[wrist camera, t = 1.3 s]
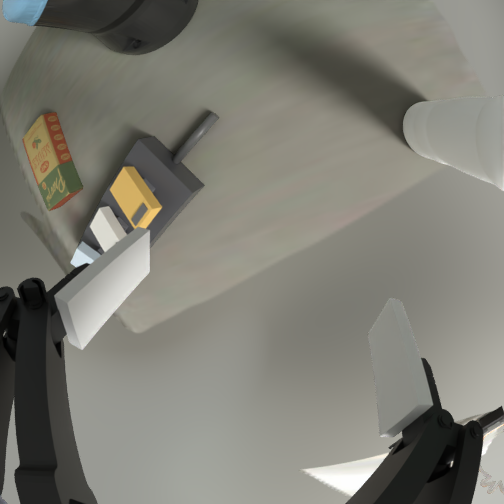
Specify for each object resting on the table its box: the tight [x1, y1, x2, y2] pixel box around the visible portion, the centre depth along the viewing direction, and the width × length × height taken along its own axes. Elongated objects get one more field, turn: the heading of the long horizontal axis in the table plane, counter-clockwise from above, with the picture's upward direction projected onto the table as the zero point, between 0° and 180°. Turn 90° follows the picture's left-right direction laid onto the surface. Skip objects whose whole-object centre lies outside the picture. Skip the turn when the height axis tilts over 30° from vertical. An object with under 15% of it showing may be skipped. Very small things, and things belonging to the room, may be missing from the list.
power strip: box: [75, 112, 219, 255], centre depth 36 cm, size 10×33×5 cm, turn 135°
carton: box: [23, 112, 83, 211], centre depth 36 cm, size 8×16×4 cm, turn 22°
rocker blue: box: [71, 241, 101, 267], centre depth 37 cm, size 7×4×2 cm, turn 45°
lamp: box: [479, 406, 504, 494], centre depth 33 cm, size 17×9×32 cm, turn 132°
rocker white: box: [90, 206, 127, 252], centre depth 34 cm, size 7×4×2 cm, turn 46°
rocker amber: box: [110, 167, 162, 229], centre depth 31 cm, size 7×4×2 cm, turn 46°
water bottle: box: [403, 95, 504, 191], centre depth 15 cm, size 7×7×25 cm
